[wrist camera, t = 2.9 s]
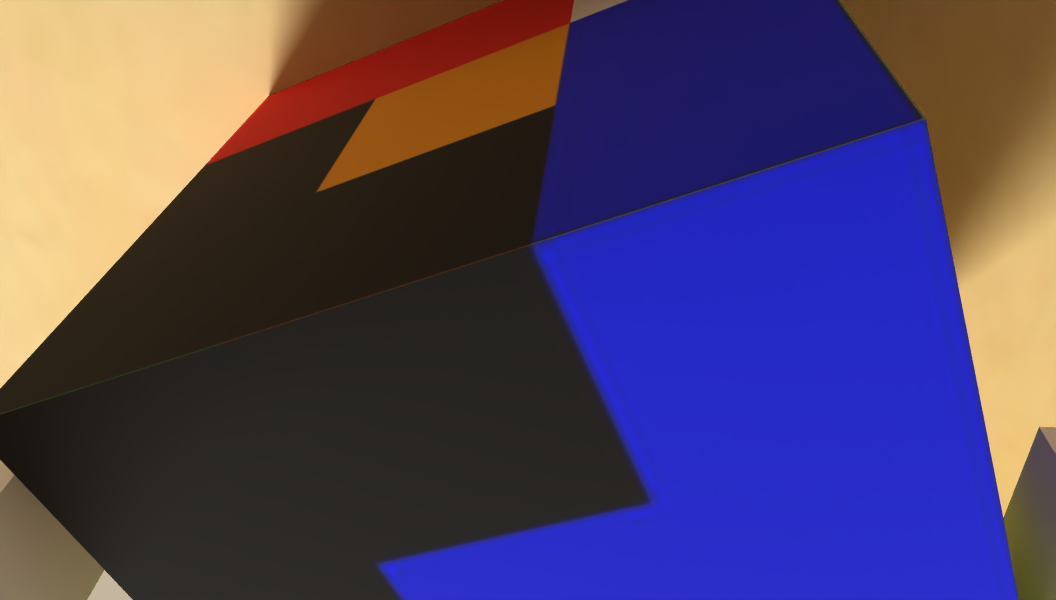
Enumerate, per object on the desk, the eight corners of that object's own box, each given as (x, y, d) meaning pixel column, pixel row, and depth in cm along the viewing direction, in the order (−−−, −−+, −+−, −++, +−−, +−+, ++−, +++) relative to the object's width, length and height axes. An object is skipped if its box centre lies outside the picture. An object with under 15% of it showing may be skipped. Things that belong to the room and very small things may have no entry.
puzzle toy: (761, -106, 15) (925, 119, 7) (878, 344, 20) (1057, 795, 12) (269, 95, 18) (-34, 425, 10) (474, 446, 23) (388, 869, 15)
